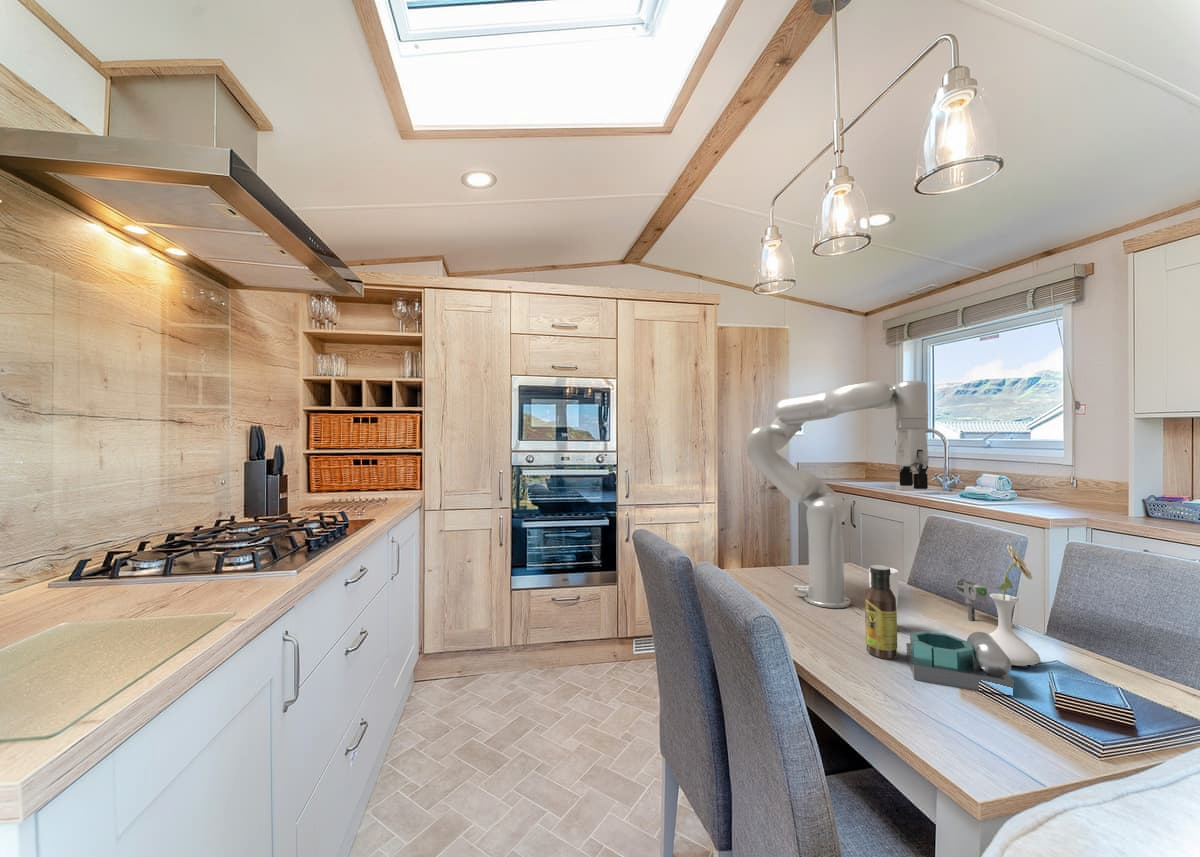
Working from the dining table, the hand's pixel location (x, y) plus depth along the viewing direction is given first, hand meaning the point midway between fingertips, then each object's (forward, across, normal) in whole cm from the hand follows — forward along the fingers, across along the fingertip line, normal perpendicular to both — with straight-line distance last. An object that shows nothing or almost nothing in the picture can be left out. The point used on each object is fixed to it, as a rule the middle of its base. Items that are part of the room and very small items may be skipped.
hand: (913, 487), depth 136 cm
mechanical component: (+36, -1, +14) cm, 39 cm away
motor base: (+36, +35, -6) cm, 50 cm away
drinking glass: (+36, +9, -11) cm, 39 cm away
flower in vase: (+36, +24, +9) cm, 44 cm away
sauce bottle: (+36, +27, -17) cm, 48 cm away
